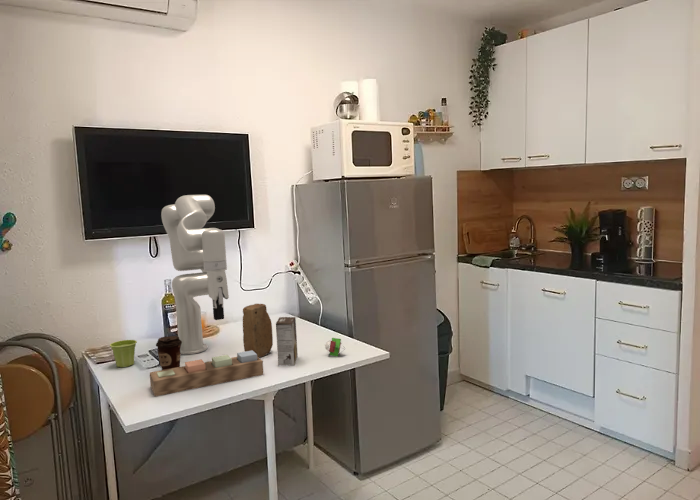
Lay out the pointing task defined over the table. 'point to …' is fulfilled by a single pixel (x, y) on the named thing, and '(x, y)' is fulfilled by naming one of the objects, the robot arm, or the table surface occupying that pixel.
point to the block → (257, 329)
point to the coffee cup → (169, 352)
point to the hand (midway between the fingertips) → (219, 319)
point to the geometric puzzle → (334, 346)
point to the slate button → (246, 356)
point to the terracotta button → (194, 366)
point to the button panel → (202, 376)
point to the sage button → (221, 361)
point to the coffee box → (286, 341)
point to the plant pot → (124, 352)
